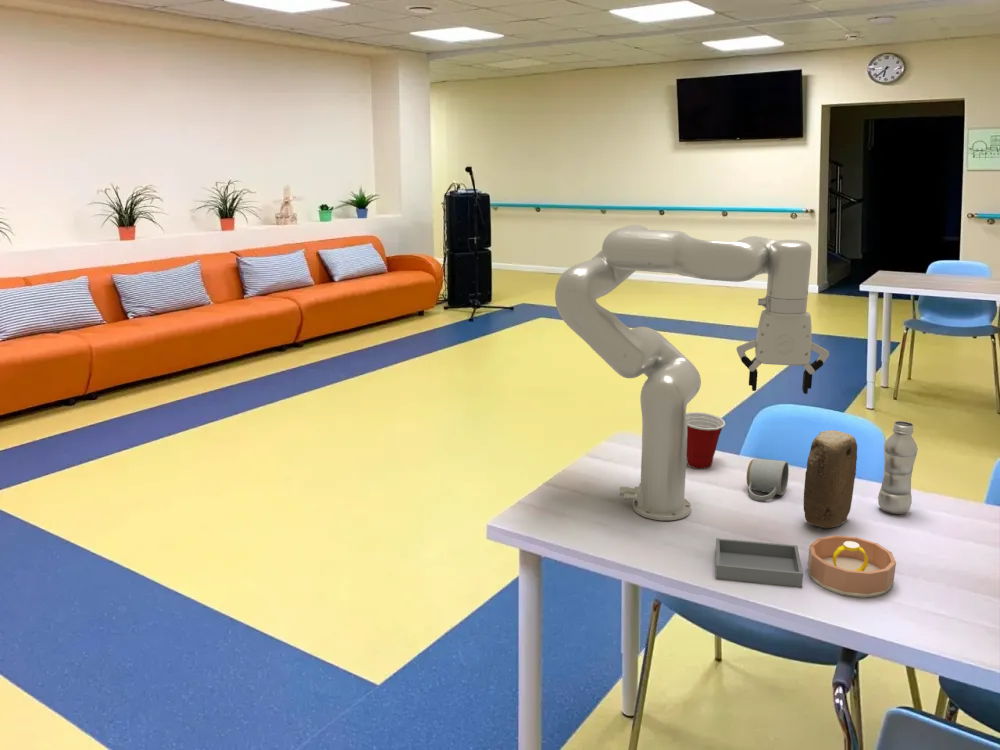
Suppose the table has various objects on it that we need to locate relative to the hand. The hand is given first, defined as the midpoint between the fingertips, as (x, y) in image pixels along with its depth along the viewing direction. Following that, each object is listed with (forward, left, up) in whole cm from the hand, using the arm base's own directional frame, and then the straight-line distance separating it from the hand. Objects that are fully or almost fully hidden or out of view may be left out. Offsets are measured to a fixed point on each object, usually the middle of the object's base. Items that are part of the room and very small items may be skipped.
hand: (779, 390), depth 172 cm
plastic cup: (-14, +34, -31) cm, 48 cm away
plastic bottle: (+27, +15, -31) cm, 43 cm away
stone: (+12, +6, -31) cm, 33 cm away
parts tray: (-3, -17, -30) cm, 35 cm away
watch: (+13, -17, -30) cm, 37 cm away
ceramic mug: (+1, +20, -31) cm, 36 cm away
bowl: (+14, -17, -30) cm, 37 cm away
